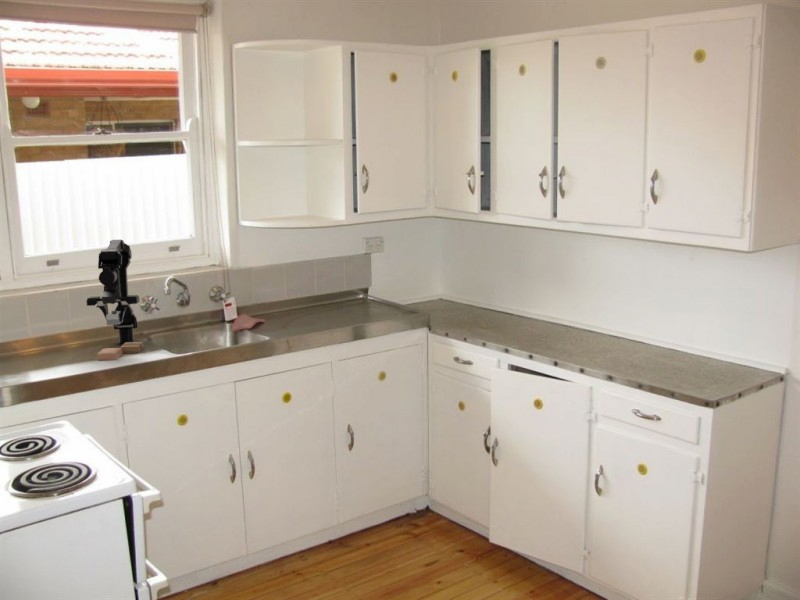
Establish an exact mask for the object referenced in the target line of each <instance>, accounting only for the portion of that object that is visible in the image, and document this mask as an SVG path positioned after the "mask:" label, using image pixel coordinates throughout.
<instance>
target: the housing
mask: <svg viewBox="0 0 800 600" xmlns="http://www.w3.org/2000/svg"><path fill="white" fill-rule="evenodd" d="M105 320H106V325H107V326H112V325H113V326H114V325H117V324H120V323H122V322H123V320H122V322H121V321H120V311H118V312H117V311H115V310H111V311H110V312H109V311H108V314H106V318H105Z"/></svg>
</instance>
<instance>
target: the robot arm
mask: <svg viewBox="0 0 800 600" xmlns="http://www.w3.org/2000/svg"><path fill="white" fill-rule="evenodd" d="M131 260H132V249H131V246H130V245H128V244H127V243H125V241H124V240H123V239H111V240H109V245H108V246H107V248H104V249H101V250H100V252H99V253H98V261H97V262H98V263H97V269H99V270H101V269H102V271H101V272H100V273H99V275H98V281H99V282H100V283H101V284H102V285H103V291H102V294H101V296H99V295H98V296H97V295H96V296H90V297H88V298H87V299H86V306H90V307H91V306H92V307H93V306H96V308H99V309H100V310H101V312H102V314H103V316H104V319H106V314H108V313H109V305H108V304H111V305H114V304H116V303H117V306H116V308H115V309H114V311H117V312H118V311H120V321H121V322H122V320H123V322H122V323H120V324H117V325H113V328H114V330H118V340H119V341H118V342H117V343H116V344H117V345H123V344H124V343H125V342H137V339H135V338H134V330H135V329H137V328H138V319H137V317H136V314H135V313H134V310H133V308H132V306H131V305H137V304H138V303H140V301H141V300H140V296H139V295H138V294H131V295H130V294H129V288H128V286H129V285H128V284H129V283H128V268H129V266H130V264H131Z"/></svg>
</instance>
